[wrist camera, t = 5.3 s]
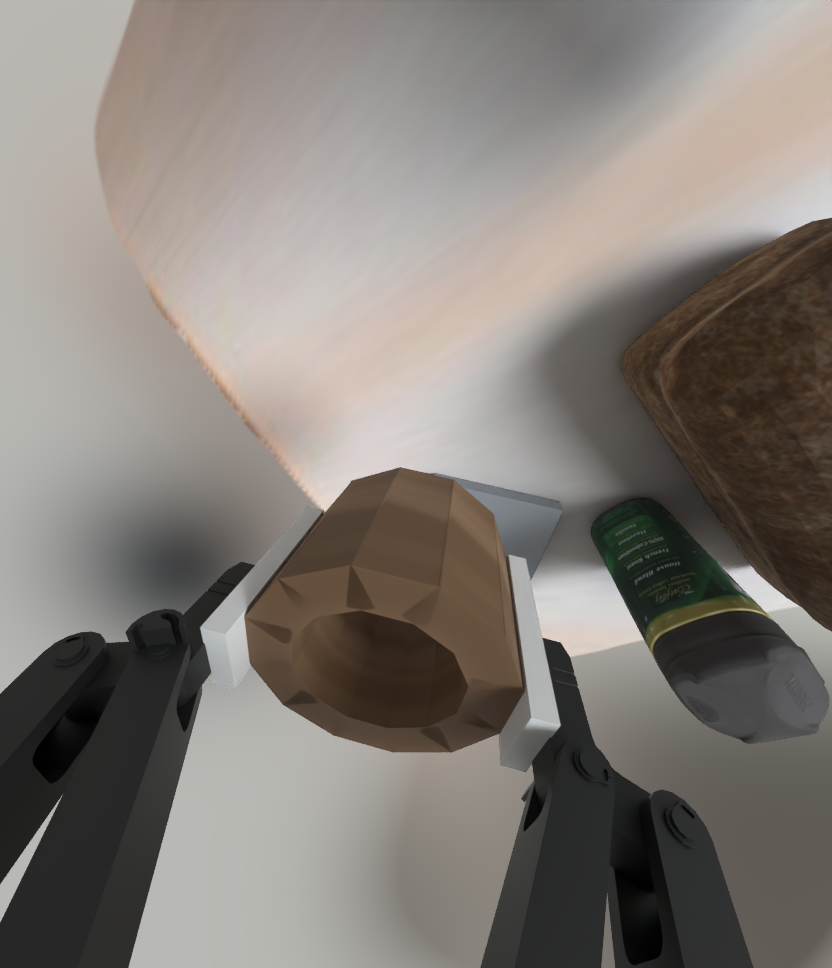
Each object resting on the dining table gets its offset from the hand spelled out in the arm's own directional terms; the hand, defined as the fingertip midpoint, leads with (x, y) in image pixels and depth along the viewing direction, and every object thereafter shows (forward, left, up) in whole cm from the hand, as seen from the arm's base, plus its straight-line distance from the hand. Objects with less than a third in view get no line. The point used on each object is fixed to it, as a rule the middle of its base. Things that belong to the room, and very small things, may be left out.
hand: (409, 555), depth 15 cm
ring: (0, 0, 0) cm, 0 cm away
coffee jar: (+8, +23, -22) cm, 32 cm away
